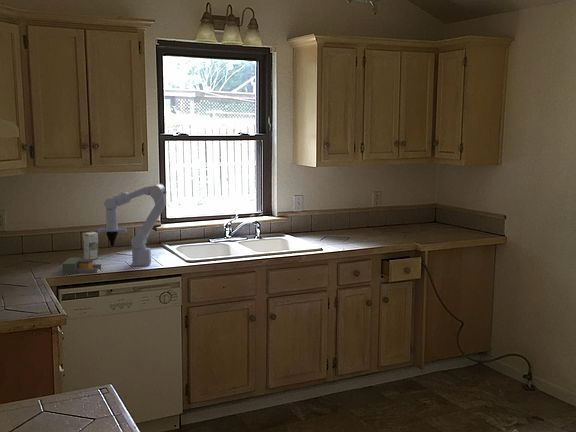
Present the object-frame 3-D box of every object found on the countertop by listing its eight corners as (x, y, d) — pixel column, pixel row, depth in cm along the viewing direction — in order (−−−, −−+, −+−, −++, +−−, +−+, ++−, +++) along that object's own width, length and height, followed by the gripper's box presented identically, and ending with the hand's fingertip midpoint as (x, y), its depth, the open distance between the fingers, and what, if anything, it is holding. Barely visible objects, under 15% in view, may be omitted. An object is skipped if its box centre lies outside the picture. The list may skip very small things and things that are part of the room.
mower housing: (102, 267, 313) (101, 257, 313) (96, 273, 300) (95, 263, 299) (69, 267, 312) (69, 257, 311) (62, 273, 298) (62, 263, 297)
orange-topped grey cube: (92, 269, 309) (92, 259, 308) (88, 271, 304) (88, 261, 303) (83, 268, 310) (83, 259, 309) (79, 271, 305) (78, 261, 304)
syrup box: (92, 257, 336) (91, 231, 334) (98, 258, 332) (97, 232, 330) (83, 258, 332) (82, 232, 330) (89, 260, 328) (88, 233, 326)
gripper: (127, 219, 323) (127, 244, 325) (99, 219, 321) (100, 244, 323) (125, 221, 316) (125, 247, 318) (96, 221, 315) (97, 247, 317)
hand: (112, 246), depth 320 cm, fingers closed
